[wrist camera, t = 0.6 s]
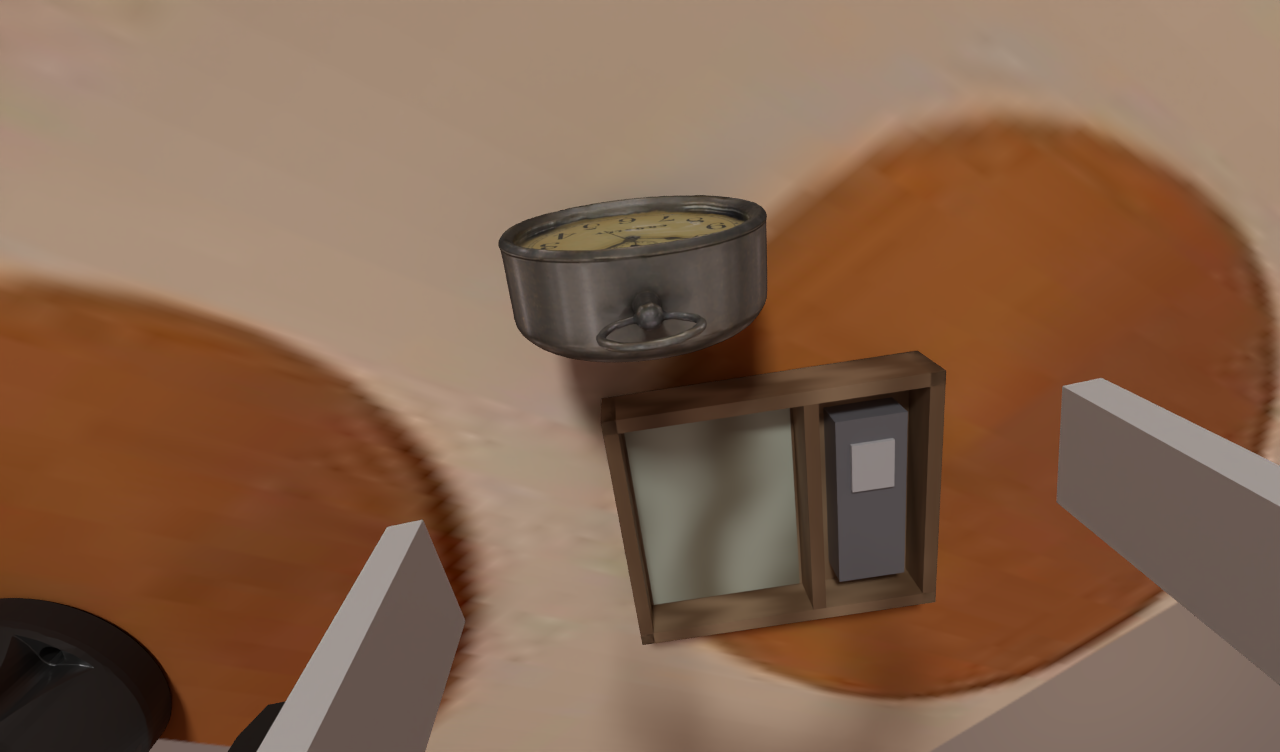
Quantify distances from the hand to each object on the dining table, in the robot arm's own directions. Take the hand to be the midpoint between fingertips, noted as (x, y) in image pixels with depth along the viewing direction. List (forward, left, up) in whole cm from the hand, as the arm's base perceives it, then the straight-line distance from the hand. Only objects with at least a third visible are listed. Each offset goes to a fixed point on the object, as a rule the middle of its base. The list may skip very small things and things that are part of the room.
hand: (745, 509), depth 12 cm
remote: (+10, -14, -21) cm, 27 cm away
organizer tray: (+5, -14, -22) cm, 26 cm away
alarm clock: (-1, +2, -22) cm, 22 cm away
